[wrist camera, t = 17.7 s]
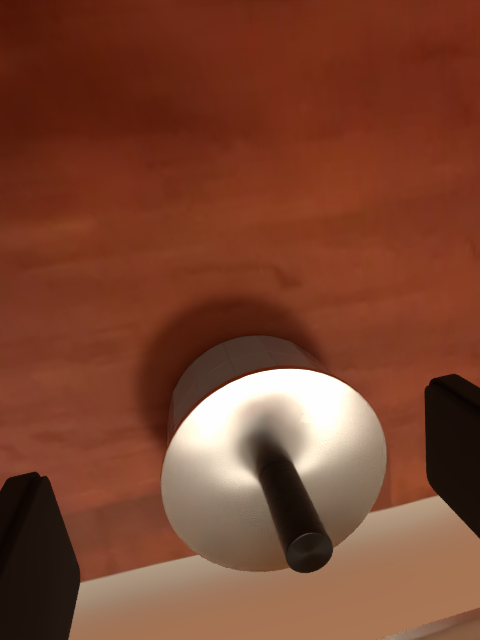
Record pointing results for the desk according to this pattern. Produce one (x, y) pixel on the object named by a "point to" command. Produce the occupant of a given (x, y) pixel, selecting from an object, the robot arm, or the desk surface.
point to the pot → (232, 368)
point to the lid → (273, 469)
